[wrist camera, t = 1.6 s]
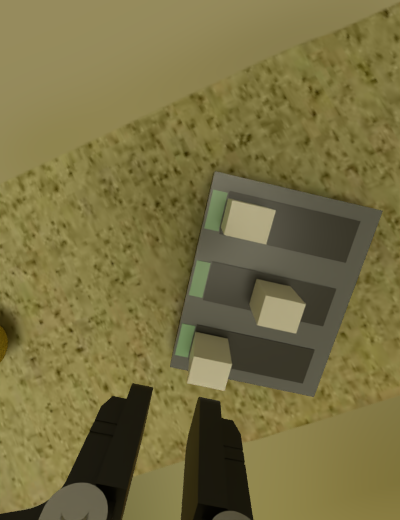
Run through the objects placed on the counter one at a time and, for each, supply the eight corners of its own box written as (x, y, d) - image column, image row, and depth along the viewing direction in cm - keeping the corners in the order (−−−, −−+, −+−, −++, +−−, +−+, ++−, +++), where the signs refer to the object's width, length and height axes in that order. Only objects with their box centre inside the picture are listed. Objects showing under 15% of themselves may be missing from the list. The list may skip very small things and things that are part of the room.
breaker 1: (227, 338, 27) (232, 364, 23) (221, 361, 27) (224, 390, 24) (195, 331, 27) (193, 356, 23) (189, 355, 27) (187, 383, 23)
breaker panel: (363, 208, 27) (383, 211, 24) (303, 377, 31) (314, 397, 28) (213, 172, 27) (214, 171, 24) (173, 349, 31) (169, 367, 28)
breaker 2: (264, 206, 24) (275, 210, 20) (256, 235, 25) (266, 244, 21) (228, 198, 24) (232, 200, 20) (221, 227, 24) (223, 235, 21)
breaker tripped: (290, 286, 26) (305, 304, 22) (282, 311, 26) (295, 333, 22) (256, 278, 25) (265, 295, 22) (249, 304, 26) (257, 325, 22)
